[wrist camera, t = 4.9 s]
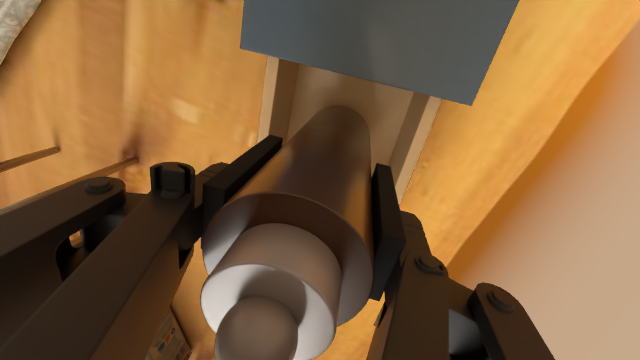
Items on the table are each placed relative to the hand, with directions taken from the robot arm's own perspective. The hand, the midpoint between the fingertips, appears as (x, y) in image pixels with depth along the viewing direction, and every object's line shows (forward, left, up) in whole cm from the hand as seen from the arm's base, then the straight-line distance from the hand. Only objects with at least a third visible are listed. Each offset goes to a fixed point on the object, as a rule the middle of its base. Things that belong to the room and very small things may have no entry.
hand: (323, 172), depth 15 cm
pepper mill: (0, 0, -7) cm, 7 cm away
